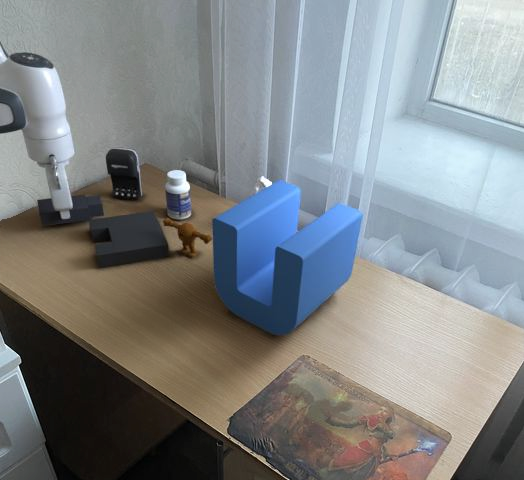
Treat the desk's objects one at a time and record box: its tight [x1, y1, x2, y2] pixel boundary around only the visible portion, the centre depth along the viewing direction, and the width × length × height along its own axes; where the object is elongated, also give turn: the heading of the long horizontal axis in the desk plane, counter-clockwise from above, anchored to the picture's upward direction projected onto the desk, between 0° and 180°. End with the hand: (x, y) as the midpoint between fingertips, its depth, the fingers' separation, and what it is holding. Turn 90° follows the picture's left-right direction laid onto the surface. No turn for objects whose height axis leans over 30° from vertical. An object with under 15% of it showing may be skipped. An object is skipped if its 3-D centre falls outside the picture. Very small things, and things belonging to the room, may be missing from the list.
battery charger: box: [105, 146, 143, 201], centre depth 123 cm, size 7×4×11 cm, turn 82°
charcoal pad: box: [36, 194, 105, 227], centre depth 116 cm, size 13×6×3 cm, turn 111°
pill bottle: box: [164, 169, 192, 221], centre depth 119 cm, size 5×5×10 cm
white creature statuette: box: [252, 175, 273, 195], centre depth 115 cm, size 10×9×12 cm
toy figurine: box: [162, 217, 213, 258], centre depth 108 cm, size 12×4×7 cm, turn 56°
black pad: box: [87, 210, 170, 269], centre depth 111 cm, size 14×14×3 cm
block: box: [211, 179, 364, 336], centre depth 95 cm, size 18×18×18 cm
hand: (63, 208), depth 115 cm, fingers closed on charcoal pad, 6 cm apart
